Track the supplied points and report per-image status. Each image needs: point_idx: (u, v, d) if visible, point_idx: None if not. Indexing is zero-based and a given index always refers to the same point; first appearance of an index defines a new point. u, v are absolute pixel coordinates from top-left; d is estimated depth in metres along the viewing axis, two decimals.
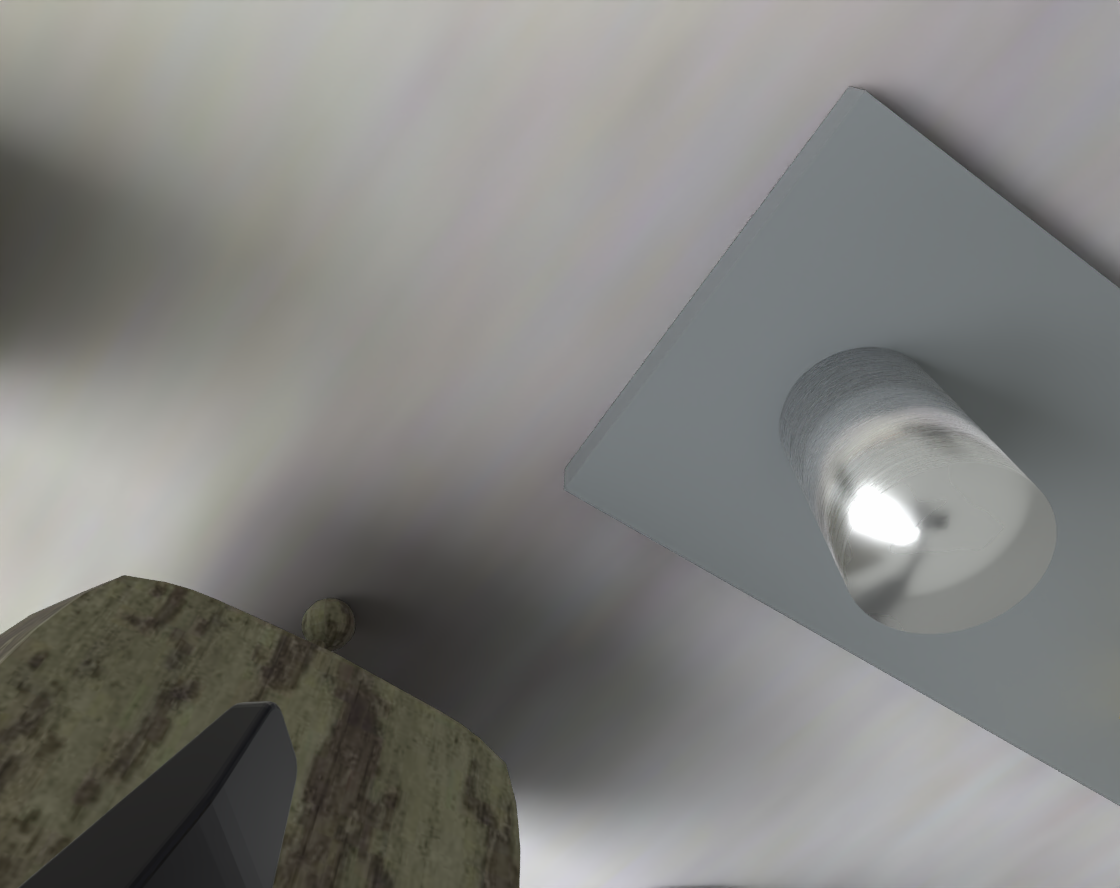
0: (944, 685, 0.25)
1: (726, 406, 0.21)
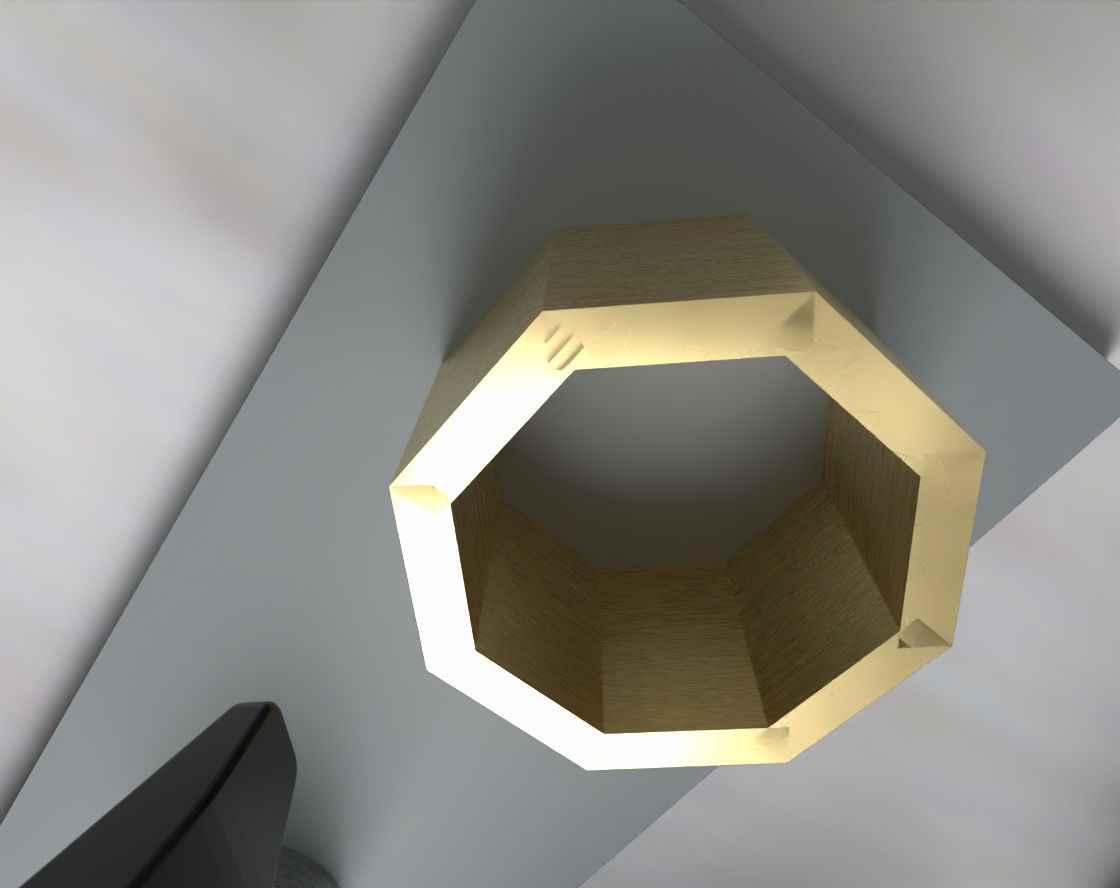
0: (647, 796, 0.18)
1: None
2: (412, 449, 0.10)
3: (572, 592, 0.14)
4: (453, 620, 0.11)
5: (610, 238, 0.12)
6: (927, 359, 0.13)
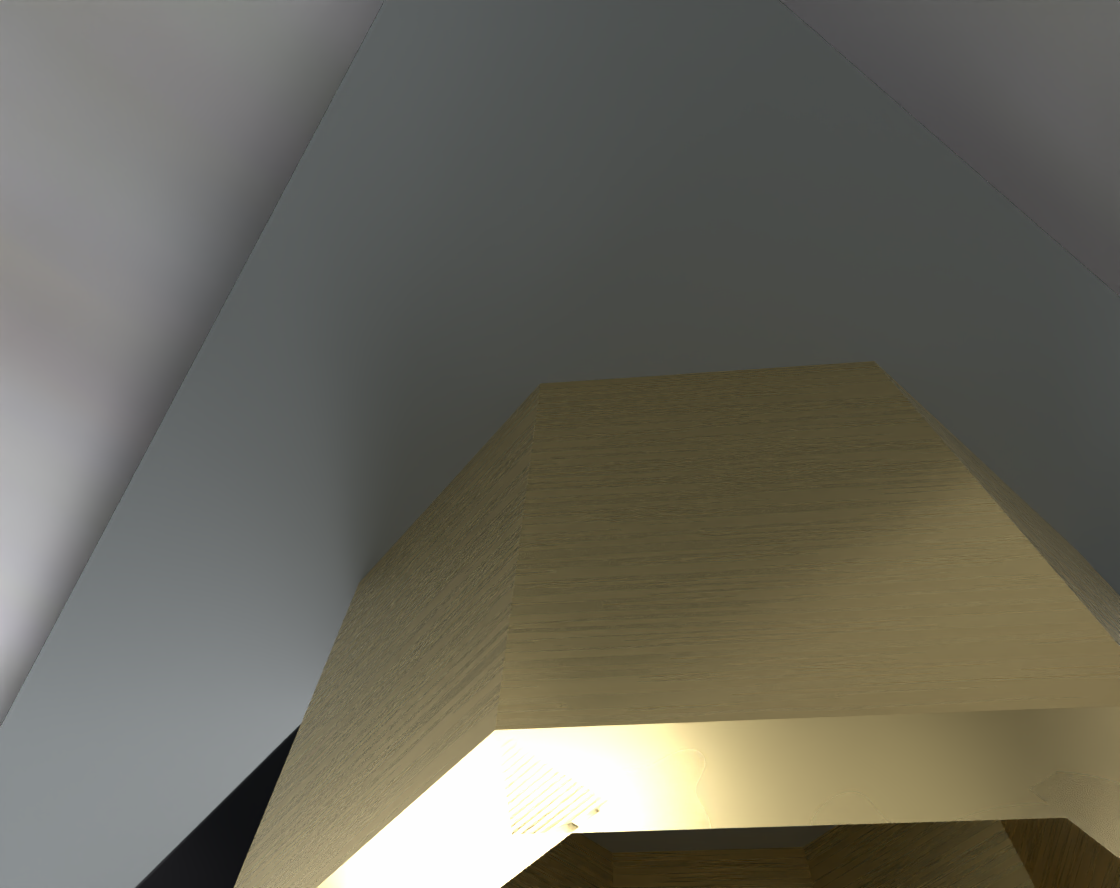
0: None
1: None
2: None
3: None
4: None
5: (638, 420, 0.06)
6: None
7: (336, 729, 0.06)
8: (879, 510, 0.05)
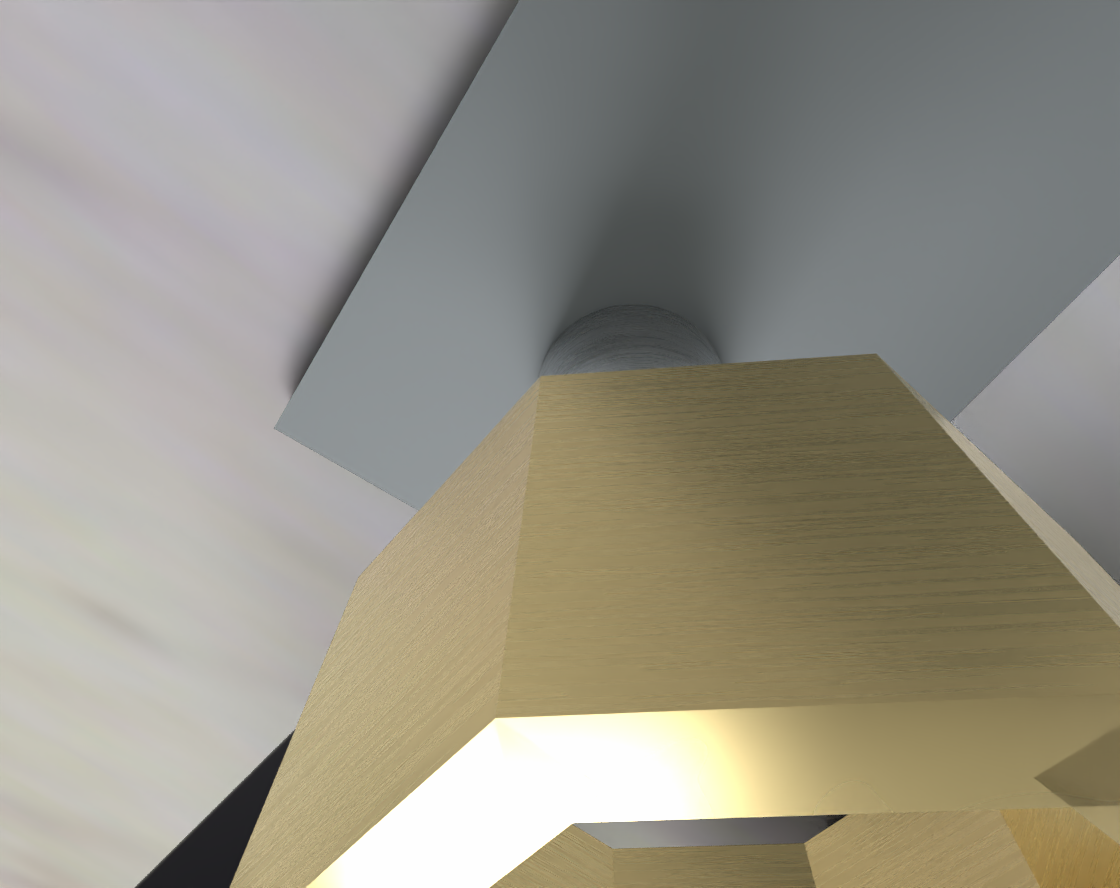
0: None
1: None
2: (247, 882, 0.05)
3: None
4: None
5: (639, 412, 0.06)
6: None
7: (335, 721, 0.06)
8: (882, 500, 0.05)
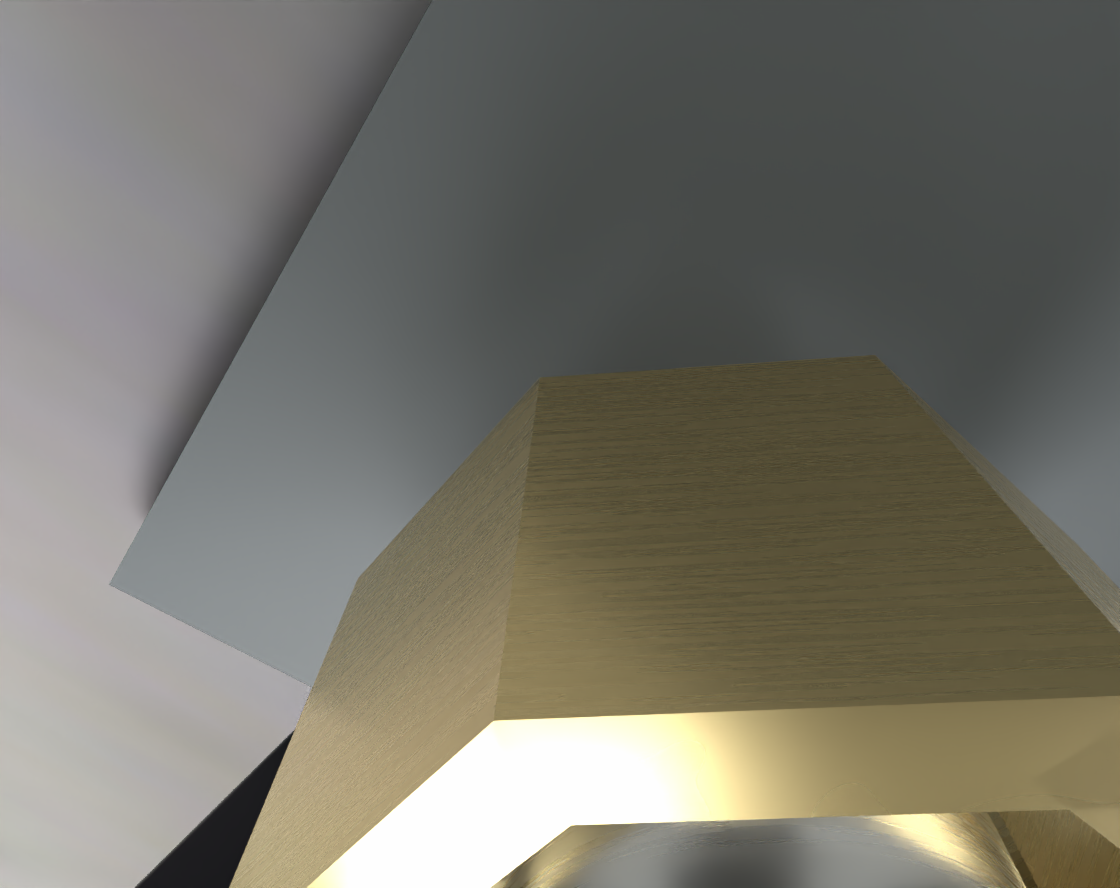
0: None
1: None
2: (246, 884, 0.05)
3: None
4: None
5: (638, 414, 0.06)
6: None
7: (334, 723, 0.06)
8: (880, 502, 0.05)
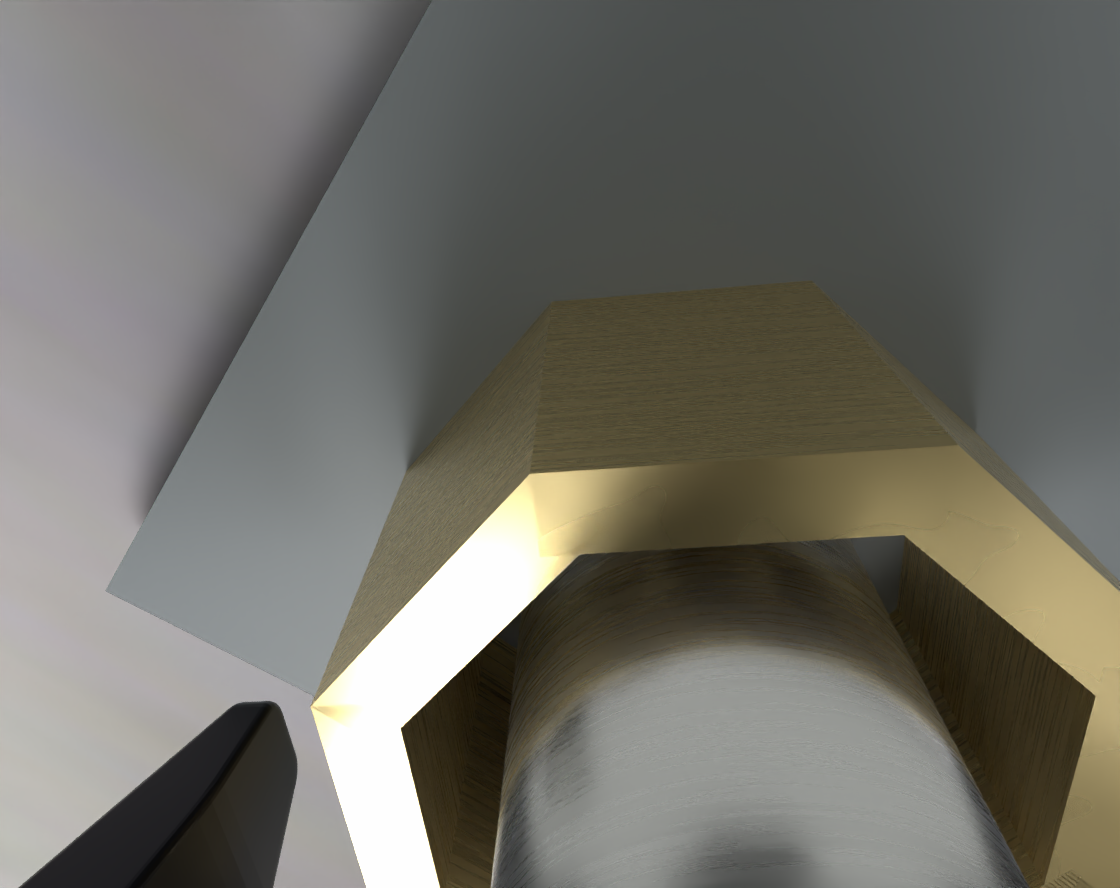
0: None
1: None
2: (347, 641, 0.07)
3: None
4: (411, 868, 0.08)
5: (627, 321, 0.08)
6: None
7: (404, 542, 0.08)
8: (797, 363, 0.07)
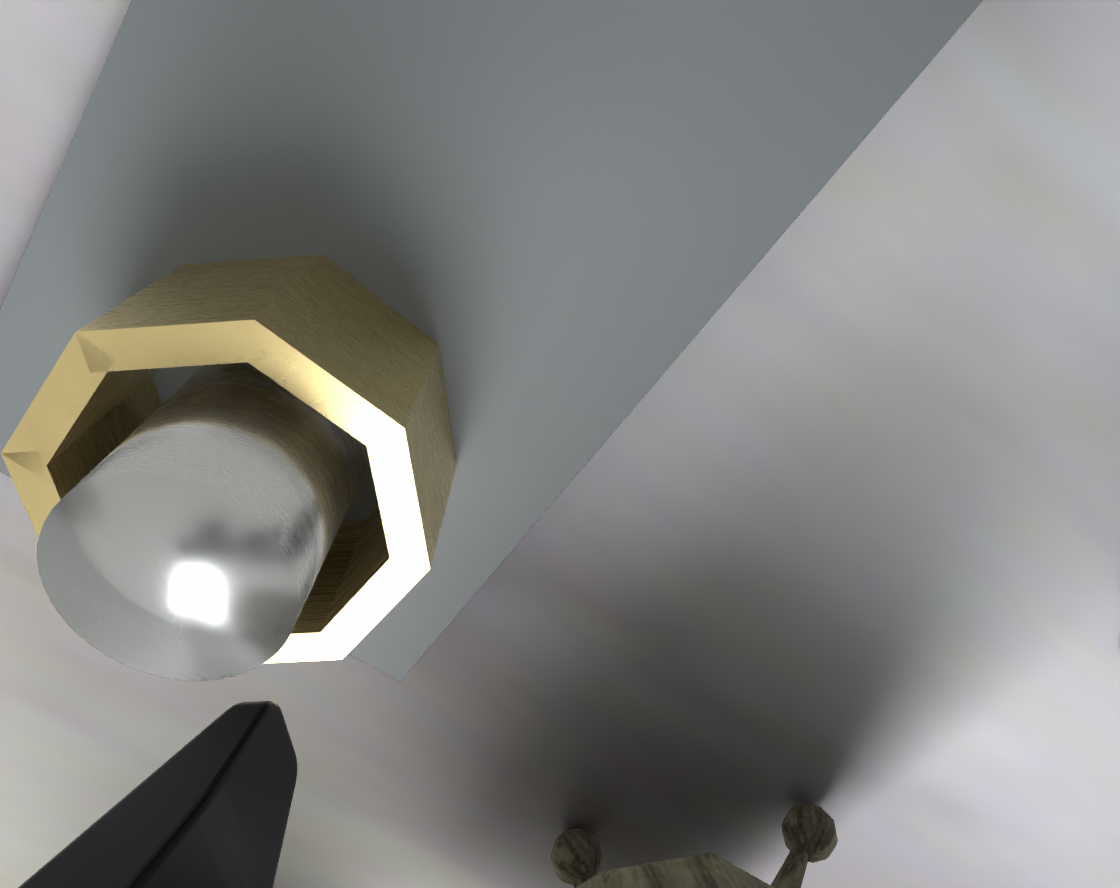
0: (724, 256, 0.16)
1: None
2: None
3: None
4: None
5: (204, 274, 0.16)
6: None
7: None
8: (247, 291, 0.14)
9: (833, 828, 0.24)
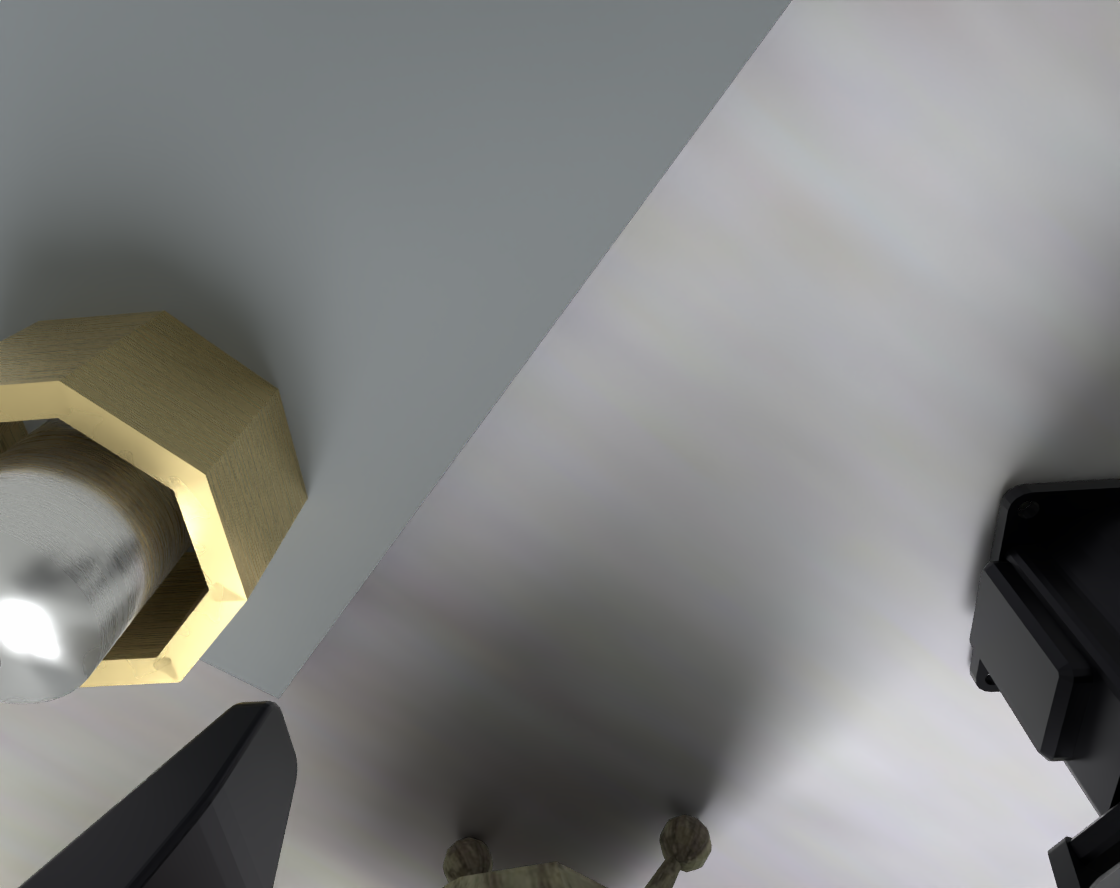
0: (530, 308, 0.18)
1: None
2: None
3: None
4: None
5: (50, 331, 0.17)
6: None
7: None
8: (73, 351, 0.16)
9: (706, 839, 0.25)
